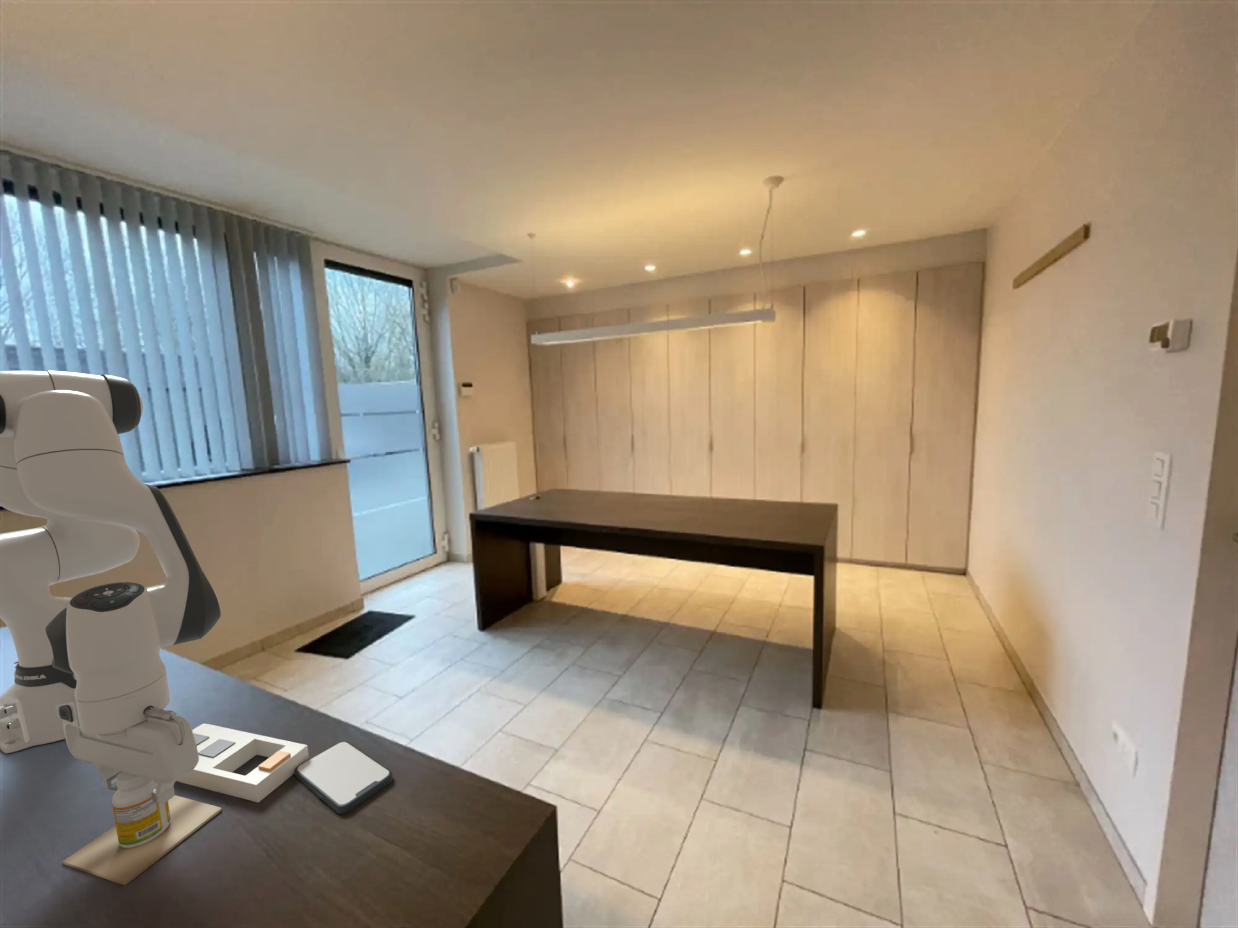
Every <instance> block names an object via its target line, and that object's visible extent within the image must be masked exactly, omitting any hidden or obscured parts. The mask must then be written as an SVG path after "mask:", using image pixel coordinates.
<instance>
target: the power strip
mask: <svg viewBox="0 0 1238 928" xmlns="http://www.w3.org/2000/svg"><path fill="white" fill-rule="evenodd" d="M192 731H193V735H194V738H195V742H196V746H197V750H198V755H199V761H198V764H197V765H196V767H195V768H194V769H193V770H191V771H190V772H188V773H187V774H186V775H184V776H183V777H181V778H179V779H178V780H176V781H175V782H179V783H182V784H186V785H190V786H193V787H197V788H200V789H201V788H202V789H205V790H209V791H212V792H217V793H220V794H224V795H228V796H232V797H236V798H238V799H239V798H240V799H243V800H248V801H251V802H255V803H260V802H261V801H263V799H265V798H266V797H267V796H268V795H270V794H271V793H272V792H273V791H275V789H277V788H278V787H279V786H281V784H284V782H286V781H287V780H288V779H289V778H290V777H292V776H293V775H295V769H296V767H297V766H299V765H300V764H302V763H304V762H305V761H307V760H309V759H310V756H309V755H310V754H309V750H308V749H309V748H308V745H307V744H304V743H299V742H294V741H289V740H285V739H280V738H276V737H272V736H266V735H262V734H256V733H253V732H248V731H243V730H238V729H233V728H229V727H224V726H219V725H214V724H210V723H209V724H208V723H204V722H203V723H202V724H199V725H198V726H196V727H195V728H194V729H192ZM255 756H262V757H265V758H267V759H266V760H264V761H263V762H261V763H260V764H258V766H257V767H255V768H254V769H253V770H252V771H250V772H249V773H247V774H246V775H243V774H239V773H235V771H236V770H237V769H238V768H240V767H241V766H243V765H244V764H246V763H247V762H249V761H250V760H252V759H253V758H254V757H255Z"/></svg>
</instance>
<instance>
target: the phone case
mask: <svg viewBox="0 0 1238 928" xmlns="http://www.w3.org/2000/svg"><path fill="white" fill-rule="evenodd" d="M294 776H295V778H297V779H298V780H299V781H300V782H301V783H302V784H303V785H304V786H305V787H306V788H308V789H309V791H312V793H313V794H314V795H316V796H317V797H318V798H319V799H320V800H321V801H323V803H325V804H326V805H328V807H329V808H331V809H332V810H334V812H335V813H337V814H338V815H345V814H347V813H349V812H352V811H353V810H355V808H357V807H358V806H361V804H363V803H364V802H366V801H367V800H369V799H370V798H372V797H373V796H374V795H376V794H378V792H380V791H382V790H383V789H384V788H386V787H387V786H388V785H390V784H391V783H392V781H393V771H392V770H390V769H389V768H388V767H386V766H384V765H383V764H382V763H380V762H378V761H377V760H376V759H374V758H373V757H371V756H370V755H368V754H367V753H365V752H364V751H362V750H361V749H359V748H357V747H356V746H355V745H354V744H351V743H350V742H349V741H345V740H344V741H343V740H342V741H340V742H337V743H336V744H334V745H332V746H331V747H328V748H326V749H325V750H323V751H322V752H319V753H318V754H316V755H315V756H313V757H311V758H309V760H307V761H305V762H304V763H302V764H300V765H299V766H297V767H296V769H295V773H294Z"/></svg>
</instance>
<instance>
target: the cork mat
mask: <svg viewBox="0 0 1238 928" xmlns="http://www.w3.org/2000/svg"><path fill="white" fill-rule="evenodd" d="M168 804H169V811H170V818H171V820H170V824H169V826H168V827H167V828H166V829H165V831H164V832H163V833H161V834H160V835H159V836H157V837H156V838H154V839H153V840H151V841H149V842H147V843H145V844H142V845H140V846H137V847H133V848H123V847H121V846H120V844H119V841H118V836H117V830H116V825H114V826H113V827H111V828H110V829H108V830H107V831H105V832H104V833H102V834H101V835H99V836H98V837H96V838H95V839H93V840H92V841H90V842H89V843H88V844H85V845H84V846H83V847H82V848H80V849H78V850H77V851H75V852H74V853H73V854H71V855H70V856H68V857H66V858H65V859H64V860H62V865H65V866H68V867H71V868H73V869H76V870H80V871H82V872H86V873H87V874H90V875H94V876H95V877H99V878H102V879H105V880H107V881H110V882H113V883H116V884H119V885H122V886H126V885H127V884H129V883H130V882H132V881H133V880H134V879H135V878H137V877H138V876H139V875H140V874H142V873H144V871H146V870H148V869H149V868H150V867H151V866H153V865H154V864H155V863H156V862H158V861H159V860H160V859H162V858H163V857H164V856H165V855H166V854H168V853H169V852H170V851H171V850H173V849H174V848H175V847H177V846H178V845H180V844H181V843H182V842H183V841H184V840H186V839H187V838H189V837H190V836H191V835H192V834H194V833H195V832H196V831H197V830H199V829H200V828H202V826H204V825H205V824H206V823H208V822H209V821H210V820H212V819H213V818H215V817H216V816H217V815H218V814H219V813H221V812H222V811H223V807H220V806H216V805H212V804H209V803H205V802H201V801H198V800H194V799H190V798H187V797H183V796H179V795H176V794H174V796H173V797H172V798H171V799H170V800H168Z"/></svg>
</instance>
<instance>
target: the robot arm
mask: <svg viewBox="0 0 1238 928" xmlns="http://www.w3.org/2000/svg"><path fill="white" fill-rule="evenodd" d="M137 389H138V388H137V387H136V386H135V384H133V383H132V382H131V381H130V380H129V379H127V378H124V377H120V376H115V375H110V374H104V373H103V374H102V373H101V374H100V375H97V374H89V373H83V372H74V371H65V370H64V371H62V370H48V369H46V370H45V371H44V370H0V507H2V508H3V509H5V510H7V511H9V512H12V513H15V514H19V515H24V516H28V517H34V518H41V519H46V520H47V521H46V524H45V525H42V526H38V527H35V528H28V529H21V530H16V531H15V530H14V531H9V532H8V531H7V532H3V533H0V620H1V621H3V623H4V624H5V625H6V626H7V628H8V630H9V633H10V636H11V638H12V641H13V645H14V649H15V652H16V656H17V661H15V662H14V663H13V664H14V665H15V666H14V668H15V669H14V673H13V676H14V683H13V684H12V685H11V686H10V687H9V688H7V690H6V691H5V692H3V693H2V694H1V695H0V750H1V752H3V753H5V754H9V753H14V752H15V753H16V752H19V751H22V750H24V749H28V748H31V747H34V746H39V745H45V744H49V743H54V742H57V741H62V740H65V742H66V745H67V748H68V751H69V752H70V754H71V755H72V757H74V759H76V760H78V761H83V762H87V763H90V764H93V765H94V766H95V769H96V771H97V772H98V774H99V775H100V776H101V778H102V779H103V782H104V789H106V790H110V791H114V792H116V791H117V790H118V788H117V782H116V778H117V776H118V775H119V774H120V773H121V772H122V771H123V772H127V773H131V774H134V775H138V776H142V777H146V778H149V779H153V780H154V783H155V784H157V787H156V789H155V790H154V791H152V792H151V795H152V798H153V799H152V801H153V802H155V803H158V804H164V803H165V802H167V801H168V800H170V799H171V798H172V797H173V796H174V795H176V794H175V788H174V787H175V786H174V785H175V783H176V782H177V781H176V780H178V779H179V778H181V777H183V776H184V775H186V774H187V773H188V772H190V771H191V770H193V769H194V768H195V767H196V765H197V764H198V761H199V755H198V750H197V746H196V742H195V738H194V735H193V731H192V730H193V729H192V726H191V724H190V722H189V721H188V720H187V719H186V718H184V717H183V716H181V715H178V714H177V712H176V711H173V710H168V709H167V710H166V709H165V708H167V706H168V705H169V703H170V702H171V694H170V687H169V682H168V680H169V679H168V676H167V675H168V674H167V669H166V665H165V663H164V662H163V660H162V658H161V654H160V653H161V649H162V648H165V647H169V646H177V645H179V644H183V643H188V642H192V641H193V642H194V641H197V640H201V639H202V638H204V637H205V636H206V635H207V634H208V633H209V632H210V631H212V629H213V628H214V627H215V626H216V625H217V623H218V621H219V619H221V608H222V607H221V601H220V598H219V596H218V594H217V592H216V590H215V588H214V587H213V586H212V584H211V583H210V581H209V579H208V578H207V576H206V574H205V573H204V570H203V569H202V567H201V566H200V563H199V561H198V559H197V557H196V555H195V553H194V550H193V548H192V547H191V545H190V541H188V538H187V536H186V534H185V532H184V530H183V528H182V526H181V524H180V522H179V520H178V517H177V516H176V514H175V512H174V511H173V510H174V509H172V507H171V505H170V502H169V501H168V499H167V498H166V497H165V495H164V494H163V493H162V491H161V490H160V489H159V488H158V487H157V486H154V485H151V484H148V483H144V482H142V481H141V479H140V478H138V477H137V476H136V475H134V473H133V472H132V471H131V469H130V467H129V466H128V464H127V461H126V458H125V454H124V450H123V446H122V443H121V440H120V436H119V435H120V434H125V433H129V432H131V431H133V430H134V429H135V428H136V427H138V426H139V424H140V423H141V422H140V421H141V418H142V416H143V410H144V406H143V405H144V404H143V400H142V398H141V395H140V394H139V392H138V390H137ZM138 532H139V533H141V534H142V535H144V537H146V539H147V540H148V542H149V544H150V546H151V548H152V550H153V552H154V555H155V556H156V558H157V560H158V562H159V564H160V566H161V568H162V570H163V572H164V574H165V577H166V580H165V581H163V582H161V583H159V584H156V585H152V586H147V587H145V585H143V584H141V583H137V582H131V581H130V582H128V581H122V582H111V583H105V584H100V585H97V586H93V587H91V588H88V589H86V590H82V591H81V592H79V593H78V594H76V595H74V596H73V597H65V596H63V597H62V596H54V595H53V594H52V593H51V589H50V586H53V585H55V584H58V583H63V582H67V581H71V580H75V579H81V578H85V577H89V576H95V575H98V574H103V573H105V572H108V571H110V570H112V569H115V568H118V567H120V566H122V565H125V564H128V563H130V562H131V561H132V560H133V559H135V557H136V555H137V553H138V551H139V549H140V545H141V544H140V543H141V540H140V535H139V533H138Z"/></svg>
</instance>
